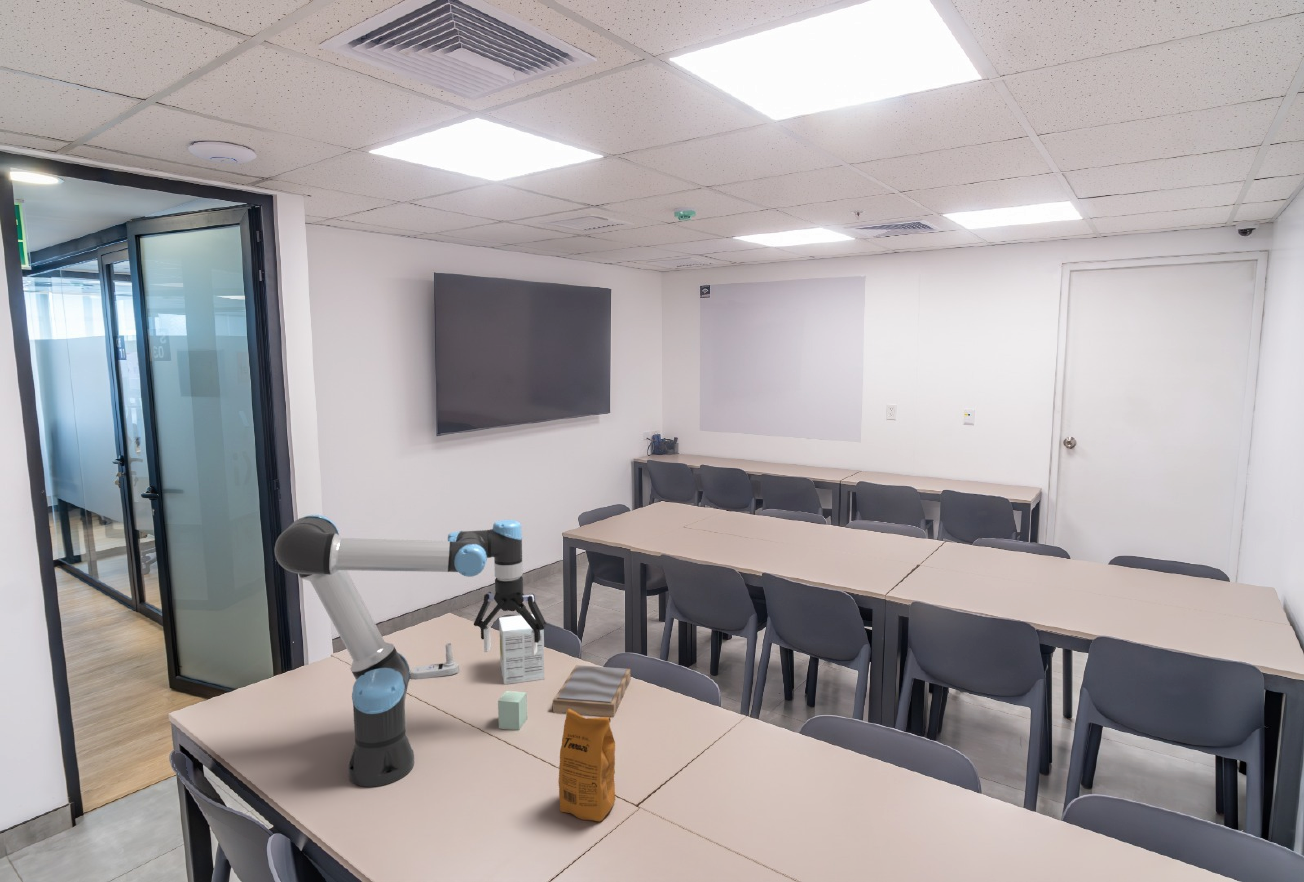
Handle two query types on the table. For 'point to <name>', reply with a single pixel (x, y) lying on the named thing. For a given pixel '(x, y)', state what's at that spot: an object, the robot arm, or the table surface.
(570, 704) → the base
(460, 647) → the table surface
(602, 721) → the coffee package
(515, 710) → the sage block
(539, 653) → the supplement box
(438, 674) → the electronic device
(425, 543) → the robot arm
